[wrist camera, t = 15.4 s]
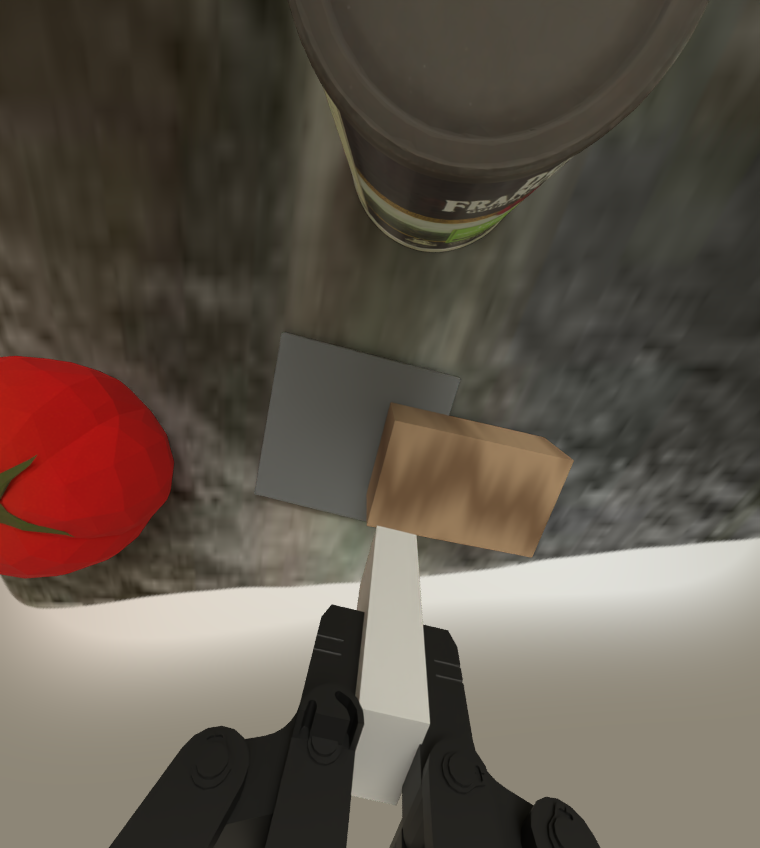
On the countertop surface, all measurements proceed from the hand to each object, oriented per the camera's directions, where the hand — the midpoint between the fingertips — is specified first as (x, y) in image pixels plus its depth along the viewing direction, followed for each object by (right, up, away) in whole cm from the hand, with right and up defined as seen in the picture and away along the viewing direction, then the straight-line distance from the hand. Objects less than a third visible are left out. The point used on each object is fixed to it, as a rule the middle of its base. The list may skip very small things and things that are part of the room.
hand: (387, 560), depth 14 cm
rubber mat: (-2, +4, +13) cm, 14 cm away
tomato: (-20, +4, +14) cm, 25 cm away
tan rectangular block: (0, +3, +10) cm, 11 cm away
